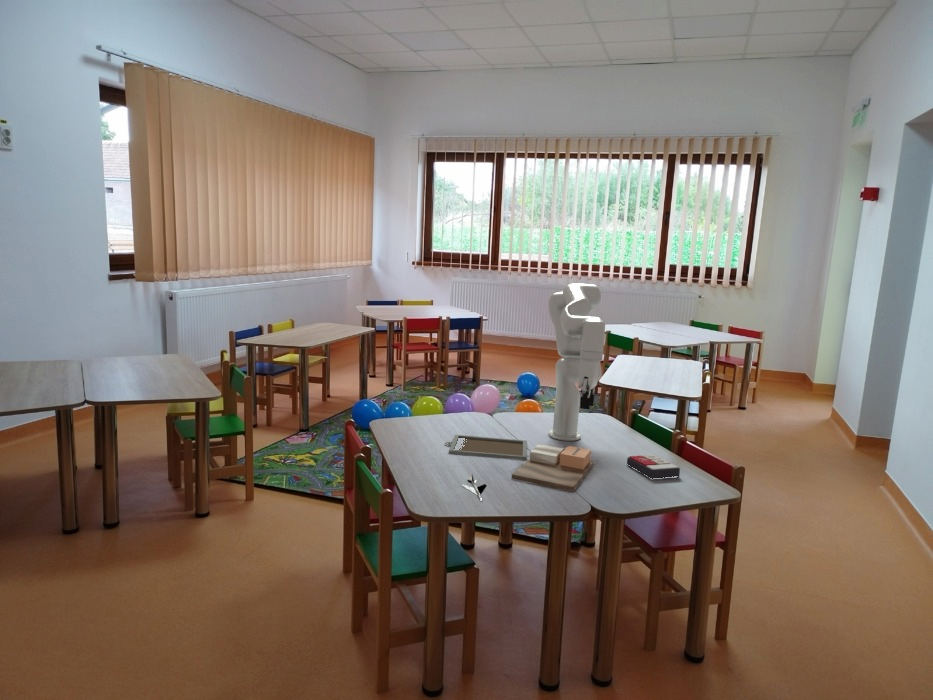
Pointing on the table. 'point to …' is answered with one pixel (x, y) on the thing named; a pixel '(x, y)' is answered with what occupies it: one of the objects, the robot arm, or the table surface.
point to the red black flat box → (653, 466)
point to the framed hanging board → (490, 447)
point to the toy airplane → (475, 488)
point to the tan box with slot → (575, 457)
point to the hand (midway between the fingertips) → (586, 406)
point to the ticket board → (550, 469)
